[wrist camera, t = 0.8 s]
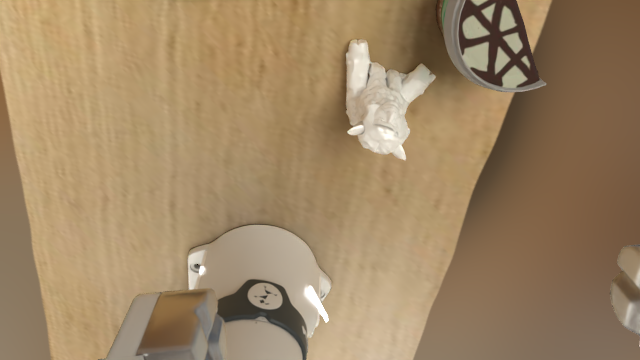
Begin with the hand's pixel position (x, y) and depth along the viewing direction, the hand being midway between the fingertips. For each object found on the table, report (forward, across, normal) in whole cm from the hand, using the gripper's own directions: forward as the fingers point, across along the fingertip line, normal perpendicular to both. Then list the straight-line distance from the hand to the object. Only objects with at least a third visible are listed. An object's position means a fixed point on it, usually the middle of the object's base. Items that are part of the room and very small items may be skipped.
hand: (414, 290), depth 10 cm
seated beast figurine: (+41, +4, -10) cm, 42 cm away
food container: (+41, +12, -4) cm, 43 cm away
